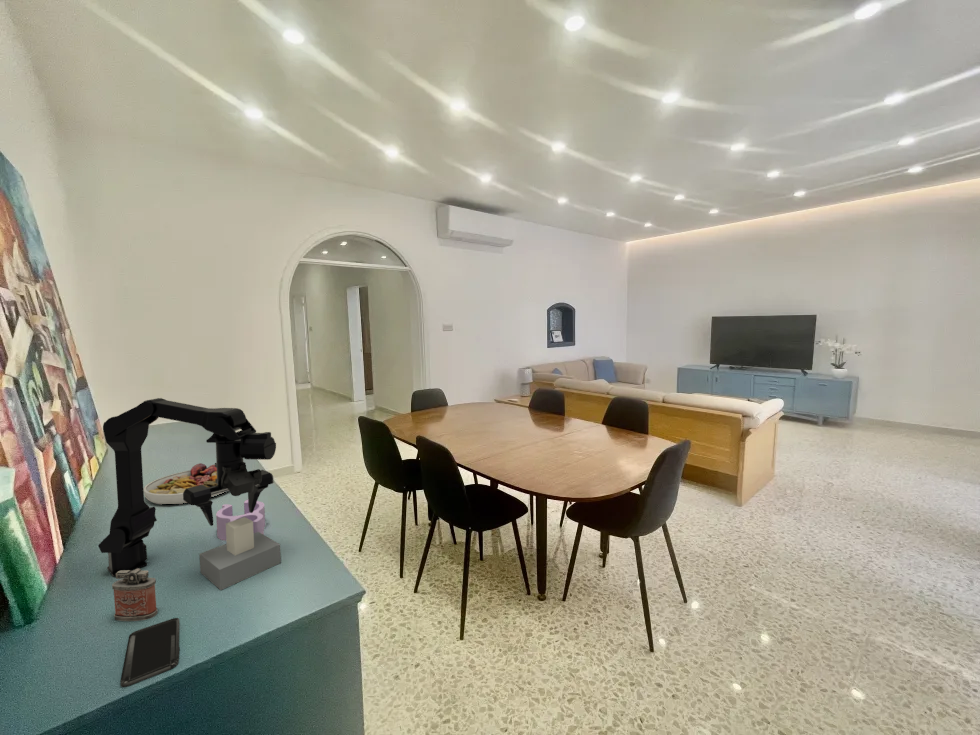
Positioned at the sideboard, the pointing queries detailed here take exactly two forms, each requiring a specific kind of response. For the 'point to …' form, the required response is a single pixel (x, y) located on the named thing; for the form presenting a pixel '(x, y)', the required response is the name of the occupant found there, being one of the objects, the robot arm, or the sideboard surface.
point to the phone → (151, 652)
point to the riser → (239, 561)
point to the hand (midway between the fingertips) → (232, 518)
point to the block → (239, 535)
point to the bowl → (180, 484)
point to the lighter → (134, 596)
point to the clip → (227, 516)
